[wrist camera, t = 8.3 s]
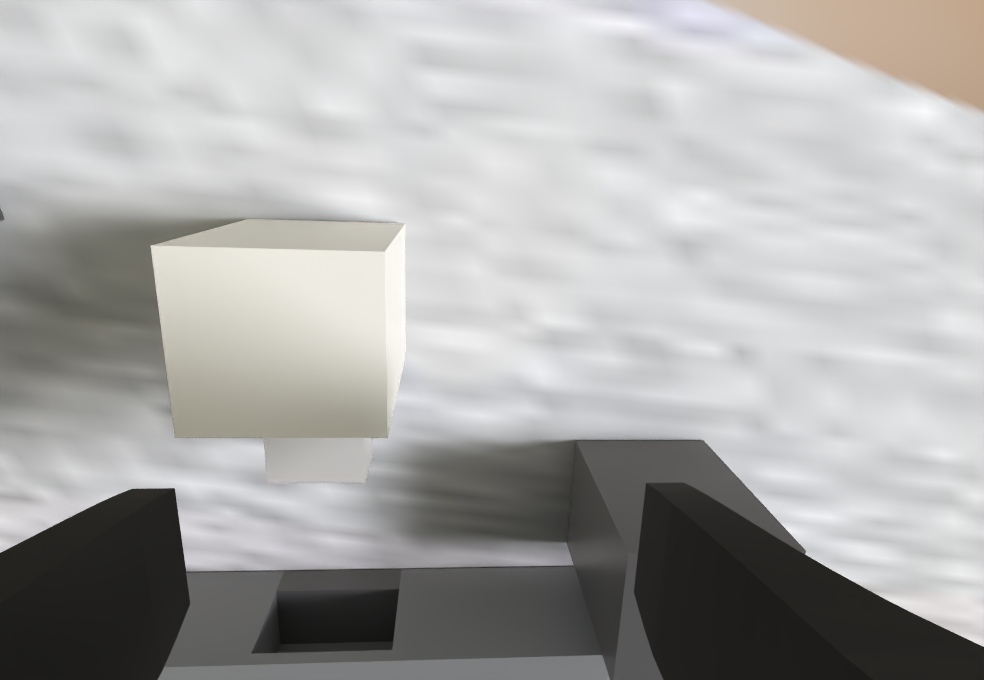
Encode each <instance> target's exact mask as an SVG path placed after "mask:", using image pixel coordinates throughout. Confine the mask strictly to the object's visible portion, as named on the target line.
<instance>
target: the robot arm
mask: <svg viewBox="0 0 984 680" xmlns="http://www.w3.org/2000/svg"><path fill="white" fill-rule="evenodd" d="M634 595H635V598H636V602H637V605H638V609H639V612H640V616H641V619H642V623H643V626H644V629H645V632H646V636H647V639H648V642H649V645H650V648H651V651H652V654H653V657H654V659H655V662H656V664H657V666H658V669H659V671H660V673H661V676H662V678H663V680H984V647H983V646H980V645H978V644H976V643H974V642H972V641H970V640H968V639H965V638H963V637H961V636H959V635H957V634H955V633H953V632H951V631H949V630H947V629H944V628H942V627H940V626H938V625H936V624H934V623H932V622H930V621H928V620H926V619H923V618H921V617H919V616H917V615H915V614H913V613H911V612H909V611H907V610H905V609H903V608H901V607H899V606H897V605H895V604H893V603H891V602H889V601H887V600H885V599H884V598H882V597H880V596H878V595H876V594H874V593H872V592H871V591H869V590H867V589H865V588H863V587H862V586H860V585H858V584H856V583H854V582H852V581H851V580H849V579H847V578H845V577H843V576H842V575H840V574H838V573H836V572H834V571H832V570H831V569H829V568H827V567H825V566H824V565H822V564H820V563H819V562H817V561H815V560H813V559H812V558H810V557H808V556H807V555H805V554H803V553H801V552H800V551H798V550H796V549H795V548H793V547H791V546H790V545H788V544H786V543H785V542H783V541H782V540H780V539H778V538H777V537H775V536H773V535H772V534H770V533H768V532H767V531H765V530H764V529H762V528H760V527H759V526H757V525H755V524H754V523H752V522H751V521H749V520H747V519H746V518H744V517H743V516H741V515H739V514H738V513H736V512H734V511H733V510H731V509H730V508H728V507H726V506H725V505H723V504H721V503H720V502H718V501H716V500H715V499H713V498H711V497H710V496H708V495H706V494H705V493H703V492H701V491H699V490H698V489H696V488H694V487H692V486H690V485H688V484H686V483H684V482H679V483H646V487H645V496H644V505H643V514H642V523H641V532H640V541H639V549H638V558H637V567H636V576H635V585H634ZM189 606H190V597H189V590H188V583H187V575H186V568H185V561H184V553H183V546H182V539H181V531H180V524H179V517H178V509H177V502H176V495H175V488H169V489H131V490H128V491H126V492H123V493H121V494H118V495H116V496H113V497H111V498H109V499H107V500H105V501H102V502H100V503H98V504H96V505H94V506H92V507H90V508H88V509H86V510H84V511H82V512H80V513H78V514H76V515H74V516H72V517H70V518H68V519H66V520H64V521H62V522H60V523H58V524H56V525H54V526H52V527H50V528H48V529H46V530H44V531H42V532H41V533H39V534H37V535H35V536H33V537H31V538H29V539H27V540H25V541H23V542H21V543H19V544H17V545H15V546H13V547H11V548H9V549H7V550H5V551H3V552H1V553H0V680H158V678H159V676H160V674H161V673H162V671H163V669H164V666H165V664H166V662H167V659H168V657H169V655H170V652H171V650H172V648H173V646H174V643H175V641H176V639H177V636H178V633H179V631H180V628H181V626H182V623H183V621H184V618H185V616H186V613H187V611H188V608H189Z"/></svg>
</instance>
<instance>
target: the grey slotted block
mask: <svg viewBox="0 0 984 680" xmlns="http://www.w3.org/2000/svg"><path fill="white" fill-rule="evenodd" d="M679 482H684V483H686V484H688V485H690V486H692V487H694V488H696V489H698V490H699V491H701V492H703V493H705V494H706V495H708V496H710V497H711V498H713V499H715V500H716V501H718V502H720V503H721V504H723V505H725V506H726V507H728V508H730V509H731V510H733V511H734V512H736V513H738V514H739V515H741V516H743V517H744V518H746V519H747V520H749V521H751V522H752V523H754V524H755V525H757V526H759V527H760V528H762V529H764V530H765V531H767V532H768V533H770V534H772V535H773V536H775V537H777V538H778V539H780V540H782V541H783V542H785V543H786V544H788V545H790V546H791V547H793V548H795V549H796V550H798V551H800V552H801V553H803V554H805V553H806V551H805V549H804V548H803V547H802V546H801V545H800V544H799V543H798V542H797V541H796V540H795V539H794V538H793V537H792V535H791V534H790V533H789V532H788V531H787V530H786V529H785V528H784V527H783V526H782V525H781V524H780V522H779V521H778V520H777V519H776V518H775V517H774V516H773V515H772V514H771V513H770V512H769V511H768V510H767V508H766V507H765V506H764V505H763V504H762V503H761V502H760V501H759V500H758V499H757V498H756V497H755V496H754V494H753V493H752V492H751V491H750V490H749V489H748V488H747V487H746V486H745V485H744V484H743V483H742V481H741V480H740V479H739V478H738V477H737V476H736V475H735V474H734V473H733V472H732V471H731V470H730V469H729V467H728V466H727V465H726V464H725V463H724V462H723V461H722V460H721V459H720V458H719V457H718V456H717V455H716V453H715V452H714V451H713V450H712V449H711V448H710V447H709V446H708V445H707V444H706V443H705V442H704V440H576V444H575V456H574V468H573V480H572V492H571V504H570V516H569V527H568V539H567V545H568V548H569V551H570V554H571V557H572V561H573V564H574V566H564V567H501V568H438V569H375V570H312V571H249V572H186V575H187V583H188V590H189V597H190V606H189V608H188V611H187V613H186V616H185V618H184V621H183V623H182V626H181V628H180V631H179V633H178V636H177V639H176V641H175V643H174V646H173V648H172V650H171V652H170V655H169V657H168V659H167V662H166V664H165V666H164V669H163V671H162V673H161V674H160V676H159V678H158V680H663V678H662V676H661V673H660V671H659V669H658V666H657V664H656V662H655V659H654V657H653V654H652V651H651V648H650V645H649V642H648V639H647V636H646V632H645V629H644V626H643V623H642V619H641V616H640V612H639V609H638V605H637V602H636V598H635V595H634V585H635V576H636V567H637V558H638V549H639V541H640V532H641V523H642V514H643V505H644V496H645V487H646V483H679Z"/></svg>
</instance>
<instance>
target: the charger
mask: <svg viewBox="0 0 984 680" xmlns="http://www.w3.org/2000/svg"><path fill="white" fill-rule="evenodd" d="M151 253H152V261H153V269H154V277H155V285H156V293H157V300H158V308H159V316H160V324H161V332H162V340H163V348H164V356H165V364H166V372H167V380H168V388H169V396H170V404H171V412H172V420H173V427H174V435H175V438H264V449H265V462H266V474H267V483H366V479H367V475H368V471H369V467H370V463H371V459H372V456H373V452H372V438H388V434H389V429H390V425H391V420H392V415H393V411H394V406H395V402H396V397H397V393H398V388H399V384H400V379H401V374H402V370H403V365H404V361H405V356H406V291H405V223H373V222H340V221H306V220H273V219H246V220H243V221H239V222H235V223H232V224H228V225H224V226H221V227H217V228H213V229H210V230H206V231H202V232H199V233H195V234H191V235H188V236H184V237H180V238H177V239H173V240H169V241H166V242H162V243H158V244H155V245H151Z"/></svg>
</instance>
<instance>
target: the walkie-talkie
mask: <svg viewBox="0 0 984 680" xmlns="http://www.w3.org/2000/svg"><path fill="white" fill-rule="evenodd" d="M1 220H4V216H3V214H2V211H1V209H0V221H1Z"/></svg>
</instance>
